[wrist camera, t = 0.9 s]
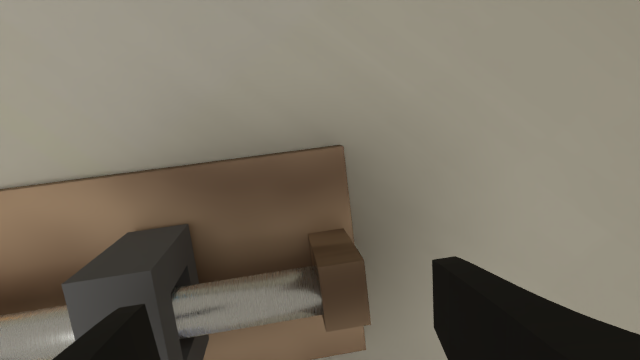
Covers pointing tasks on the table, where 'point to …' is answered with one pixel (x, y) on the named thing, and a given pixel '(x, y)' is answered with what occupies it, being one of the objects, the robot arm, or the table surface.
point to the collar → (138, 286)
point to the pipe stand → (199, 254)
